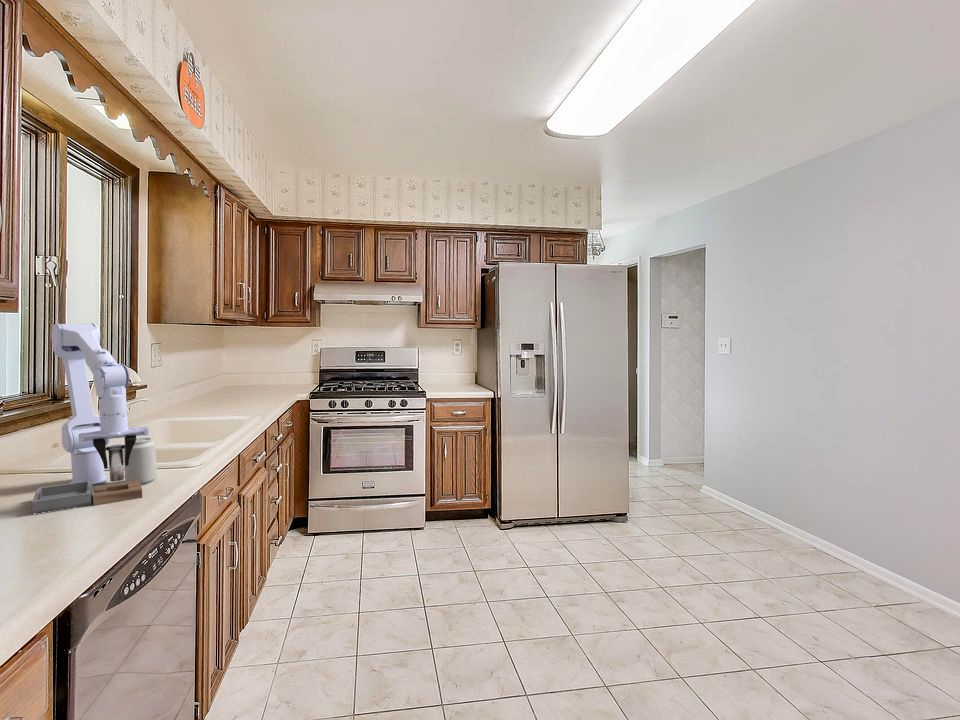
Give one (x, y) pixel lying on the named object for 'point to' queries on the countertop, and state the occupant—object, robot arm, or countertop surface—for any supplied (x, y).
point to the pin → (116, 462)
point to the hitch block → (117, 492)
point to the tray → (62, 497)
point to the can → (142, 462)
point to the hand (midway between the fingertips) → (116, 466)
